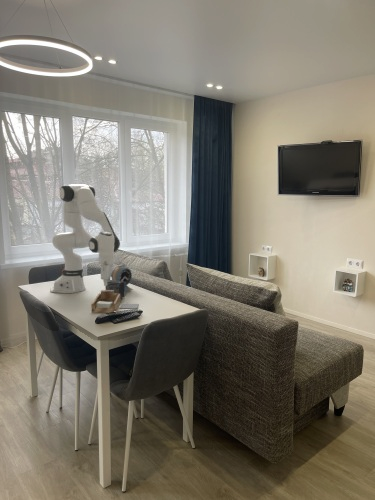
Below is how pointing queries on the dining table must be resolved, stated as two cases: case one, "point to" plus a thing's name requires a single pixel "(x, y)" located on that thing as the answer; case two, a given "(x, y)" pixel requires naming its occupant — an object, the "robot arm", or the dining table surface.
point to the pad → (129, 306)
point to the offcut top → (104, 304)
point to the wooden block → (107, 295)
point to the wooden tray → (115, 305)
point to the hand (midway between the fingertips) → (107, 283)
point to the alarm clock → (122, 276)
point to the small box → (116, 287)
